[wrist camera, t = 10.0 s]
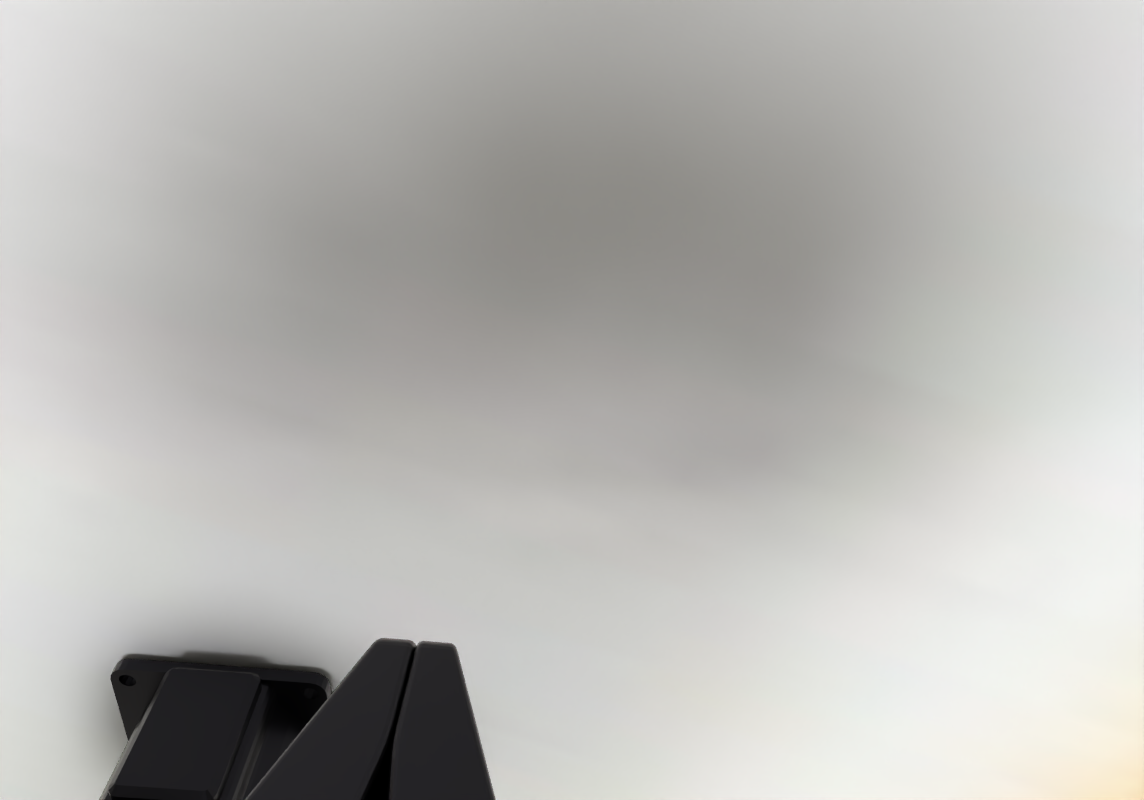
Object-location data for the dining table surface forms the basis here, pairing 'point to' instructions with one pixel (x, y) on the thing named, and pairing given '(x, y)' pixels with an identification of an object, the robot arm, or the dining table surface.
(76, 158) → the dining table surface
